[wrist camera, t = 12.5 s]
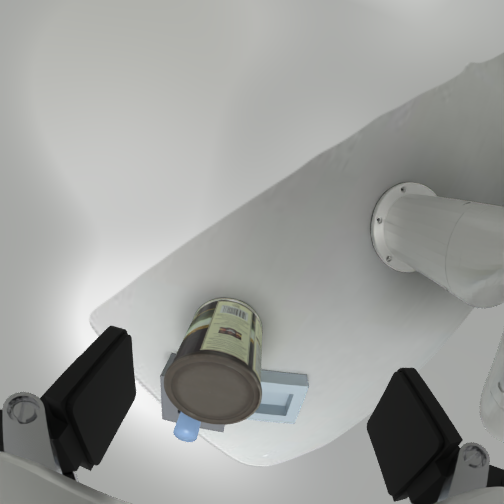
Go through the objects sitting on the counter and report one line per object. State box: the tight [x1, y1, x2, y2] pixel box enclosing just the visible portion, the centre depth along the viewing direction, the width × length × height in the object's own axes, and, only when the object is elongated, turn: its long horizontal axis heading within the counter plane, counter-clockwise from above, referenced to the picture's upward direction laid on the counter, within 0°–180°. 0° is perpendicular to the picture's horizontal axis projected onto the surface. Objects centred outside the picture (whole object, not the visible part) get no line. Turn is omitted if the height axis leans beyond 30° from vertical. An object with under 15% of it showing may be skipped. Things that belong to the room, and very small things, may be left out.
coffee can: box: [164, 298, 262, 425], centre depth 33 cm, size 10×10×14 cm
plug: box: [174, 412, 201, 442], centre depth 36 cm, size 3×3×12 cm
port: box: [160, 353, 224, 432], centre depth 39 cm, size 10×10×6 cm
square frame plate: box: [247, 370, 309, 424], centre depth 40 cm, size 9×9×3 cm
